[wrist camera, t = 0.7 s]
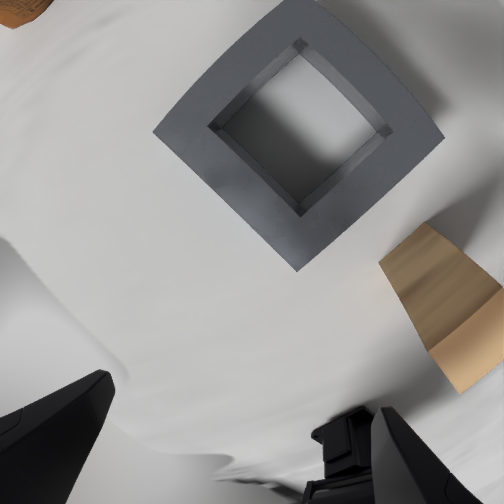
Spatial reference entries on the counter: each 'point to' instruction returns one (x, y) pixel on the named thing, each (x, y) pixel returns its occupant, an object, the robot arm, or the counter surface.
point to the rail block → (254, 175)
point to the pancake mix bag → (21, 11)
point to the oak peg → (449, 304)
